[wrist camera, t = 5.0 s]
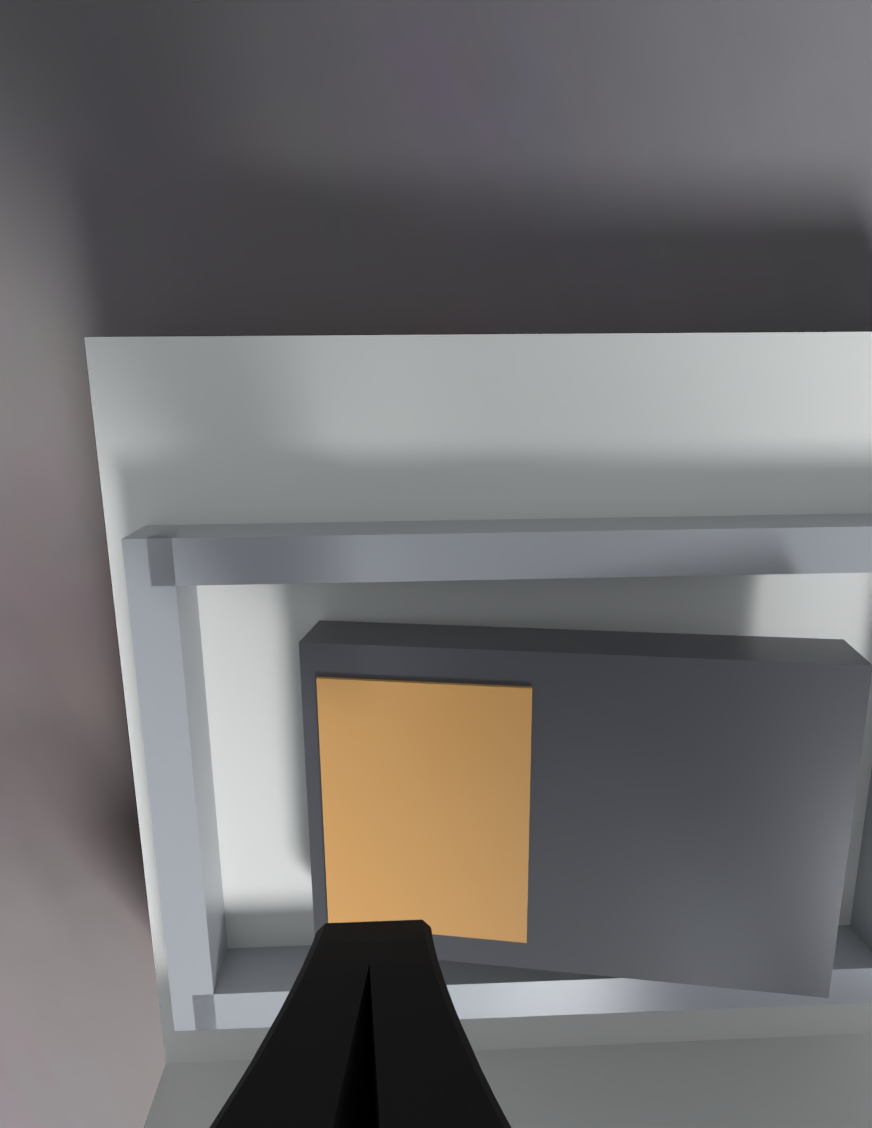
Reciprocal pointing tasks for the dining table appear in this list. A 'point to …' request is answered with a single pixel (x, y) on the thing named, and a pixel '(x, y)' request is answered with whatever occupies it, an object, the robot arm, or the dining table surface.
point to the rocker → (587, 796)
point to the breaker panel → (470, 598)
